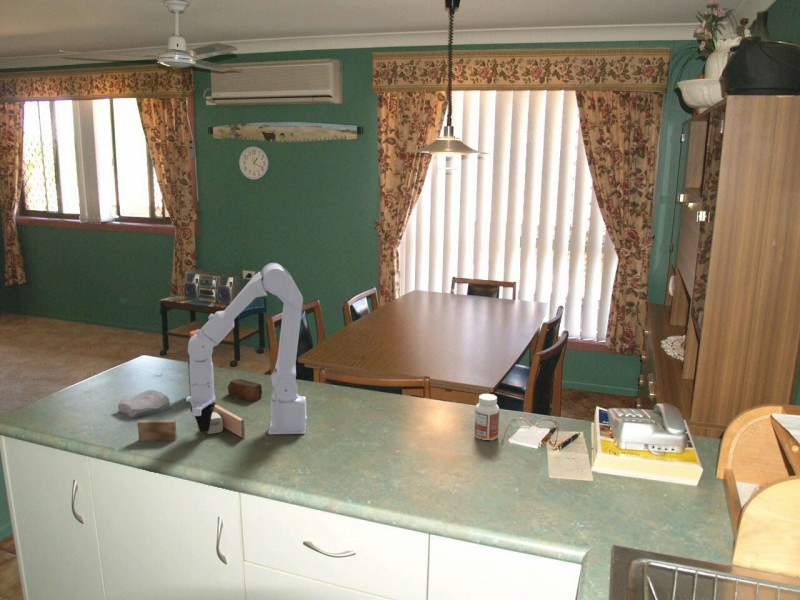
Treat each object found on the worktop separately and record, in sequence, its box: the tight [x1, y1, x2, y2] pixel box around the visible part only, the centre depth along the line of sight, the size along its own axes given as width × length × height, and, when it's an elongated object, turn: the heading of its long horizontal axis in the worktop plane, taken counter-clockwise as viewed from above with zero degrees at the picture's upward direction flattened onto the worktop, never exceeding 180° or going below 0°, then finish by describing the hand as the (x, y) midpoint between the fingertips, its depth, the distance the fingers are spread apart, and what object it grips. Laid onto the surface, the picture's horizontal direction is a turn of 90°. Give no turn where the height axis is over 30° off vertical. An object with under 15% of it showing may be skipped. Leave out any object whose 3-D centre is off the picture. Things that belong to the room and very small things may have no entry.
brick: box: [227, 378, 263, 403], centre depth 187 cm, size 11×4×5 cm, turn 58°
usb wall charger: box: [206, 412, 224, 435], centre depth 165 cm, size 4×7×4 cm, turn 28°
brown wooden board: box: [137, 419, 178, 442], centre depth 157 cm, size 9×1×5 cm, turn 95°
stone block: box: [117, 389, 171, 419], centre depth 176 cm, size 12×5×10 cm
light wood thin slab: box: [212, 404, 246, 438], centre depth 164 cm, size 17×1×5 cm, turn 46°
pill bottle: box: [474, 393, 500, 441], centre depth 162 cm, size 6×6×11 cm
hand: (204, 431), depth 160 cm, fingers closed
